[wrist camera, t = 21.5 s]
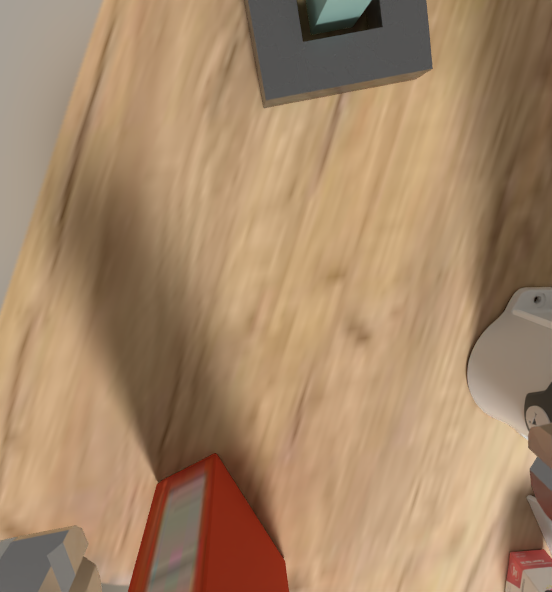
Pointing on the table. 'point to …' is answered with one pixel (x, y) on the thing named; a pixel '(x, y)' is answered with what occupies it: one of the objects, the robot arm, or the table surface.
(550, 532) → the grey napkin holder
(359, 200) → the table surface
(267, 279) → the table surface
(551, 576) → the ink cartridge box
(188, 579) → the file binder
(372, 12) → the collar block
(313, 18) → the sage green box
